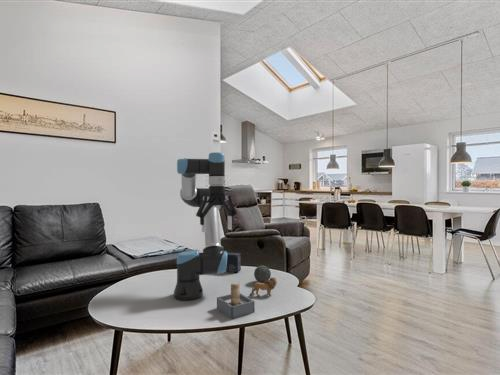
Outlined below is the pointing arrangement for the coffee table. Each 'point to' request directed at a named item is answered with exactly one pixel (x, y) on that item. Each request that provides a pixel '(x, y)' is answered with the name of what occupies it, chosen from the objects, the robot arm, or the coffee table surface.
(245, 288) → the coffee table surface
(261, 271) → the decorative ball
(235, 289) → the peg
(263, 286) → the lion figurine
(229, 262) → the small box
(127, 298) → the coffee table surface
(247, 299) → the box
